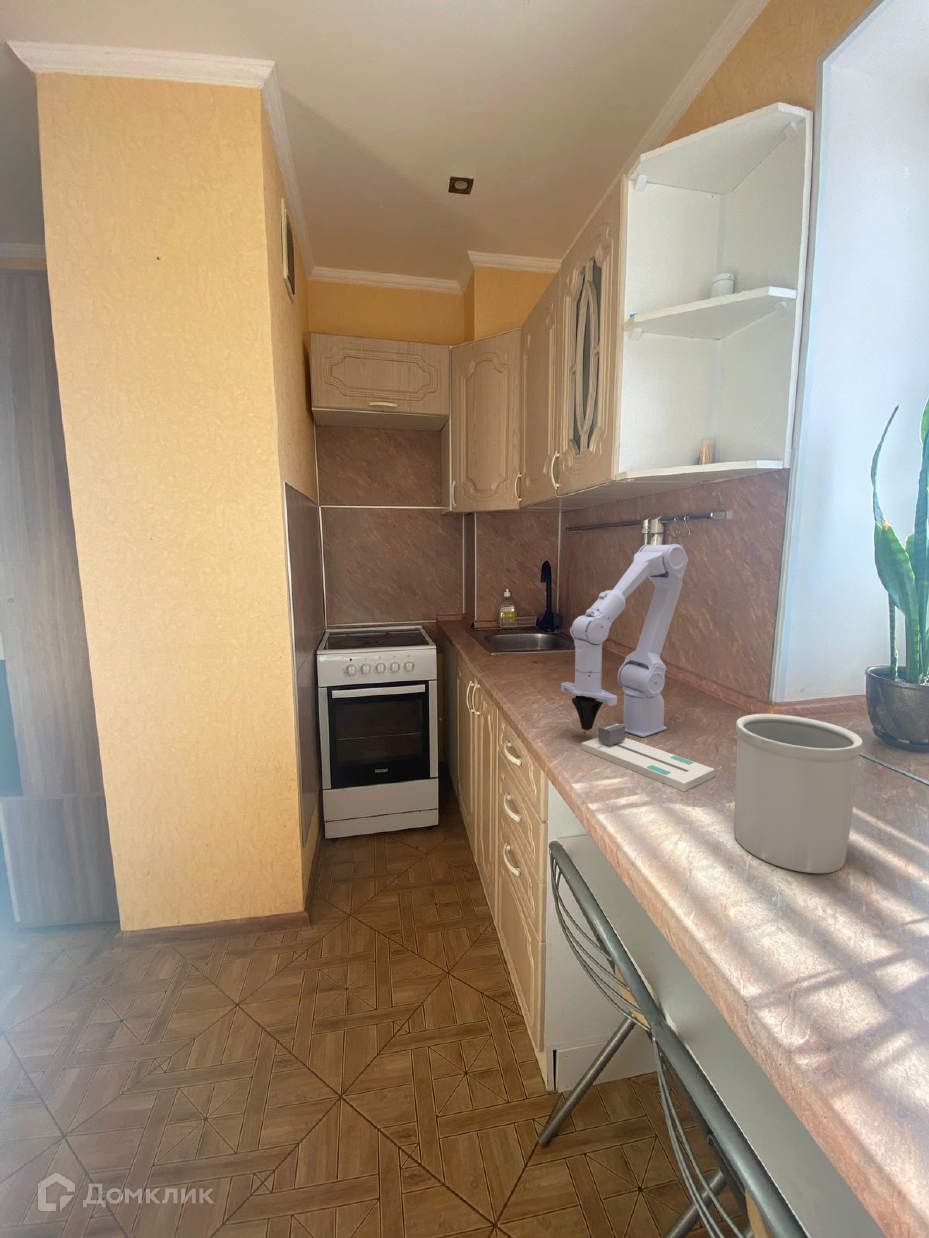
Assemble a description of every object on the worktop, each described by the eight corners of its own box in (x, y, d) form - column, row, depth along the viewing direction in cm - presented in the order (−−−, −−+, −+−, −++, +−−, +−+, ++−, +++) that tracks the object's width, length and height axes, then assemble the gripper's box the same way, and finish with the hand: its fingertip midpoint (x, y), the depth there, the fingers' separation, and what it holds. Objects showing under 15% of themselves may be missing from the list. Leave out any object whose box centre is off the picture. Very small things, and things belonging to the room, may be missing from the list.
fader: (613, 736, 112) (613, 721, 111) (624, 740, 109) (625, 725, 109) (598, 741, 109) (598, 726, 108) (609, 745, 106) (610, 730, 106)
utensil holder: (740, 808, 84) (747, 706, 82) (853, 839, 75) (864, 725, 73) (718, 849, 73) (725, 732, 71) (847, 892, 64) (860, 759, 61)
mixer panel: (611, 739, 115) (611, 732, 115) (714, 776, 96) (714, 768, 96) (581, 749, 110) (581, 742, 109) (684, 791, 90) (684, 783, 90)
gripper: (551, 666, 116) (551, 723, 118) (602, 679, 105) (600, 742, 106) (573, 662, 120) (572, 717, 122) (624, 674, 109) (622, 735, 110)
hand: (587, 728), depth 115 cm, fingers closed
